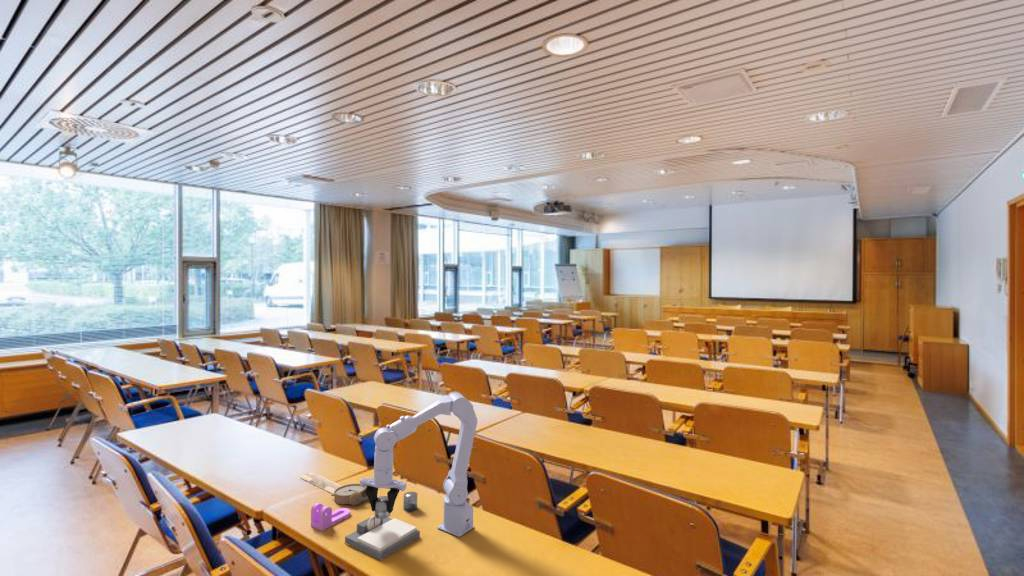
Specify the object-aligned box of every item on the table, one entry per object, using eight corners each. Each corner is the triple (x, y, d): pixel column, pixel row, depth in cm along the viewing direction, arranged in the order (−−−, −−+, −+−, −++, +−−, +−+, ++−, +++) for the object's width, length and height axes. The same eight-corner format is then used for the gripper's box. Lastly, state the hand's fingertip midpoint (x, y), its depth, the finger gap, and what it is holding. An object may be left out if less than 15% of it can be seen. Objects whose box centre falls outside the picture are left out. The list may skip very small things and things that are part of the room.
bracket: (322, 531, 157) (322, 509, 157) (310, 526, 160) (311, 505, 159) (353, 514, 168) (354, 494, 168) (342, 510, 171) (342, 490, 171)
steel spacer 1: (392, 512, 155) (393, 496, 155) (387, 519, 150) (387, 503, 150) (378, 511, 155) (378, 495, 155) (372, 518, 151) (372, 502, 151)
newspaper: (347, 491, 187) (348, 486, 187) (331, 497, 182) (331, 493, 182) (313, 475, 201) (313, 471, 201) (297, 480, 196) (297, 476, 196)
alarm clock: (348, 482, 188) (379, 483, 181) (350, 495, 187) (380, 496, 181) (326, 493, 178) (357, 494, 171) (327, 507, 177) (359, 508, 171)
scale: (419, 536, 155) (420, 516, 155) (380, 560, 141) (381, 538, 141) (384, 522, 163) (385, 503, 163) (344, 543, 150) (345, 522, 150)
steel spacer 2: (420, 507, 174) (420, 494, 174) (409, 513, 170) (409, 498, 170) (410, 504, 177) (410, 490, 177) (400, 509, 173) (400, 495, 173)
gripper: (410, 464, 155) (409, 507, 155) (367, 461, 157) (366, 502, 158) (401, 473, 148) (400, 517, 148) (357, 469, 150) (356, 512, 151)
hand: (382, 510), depth 153 cm, fingers closed on steel spacer 1, 5 cm apart
